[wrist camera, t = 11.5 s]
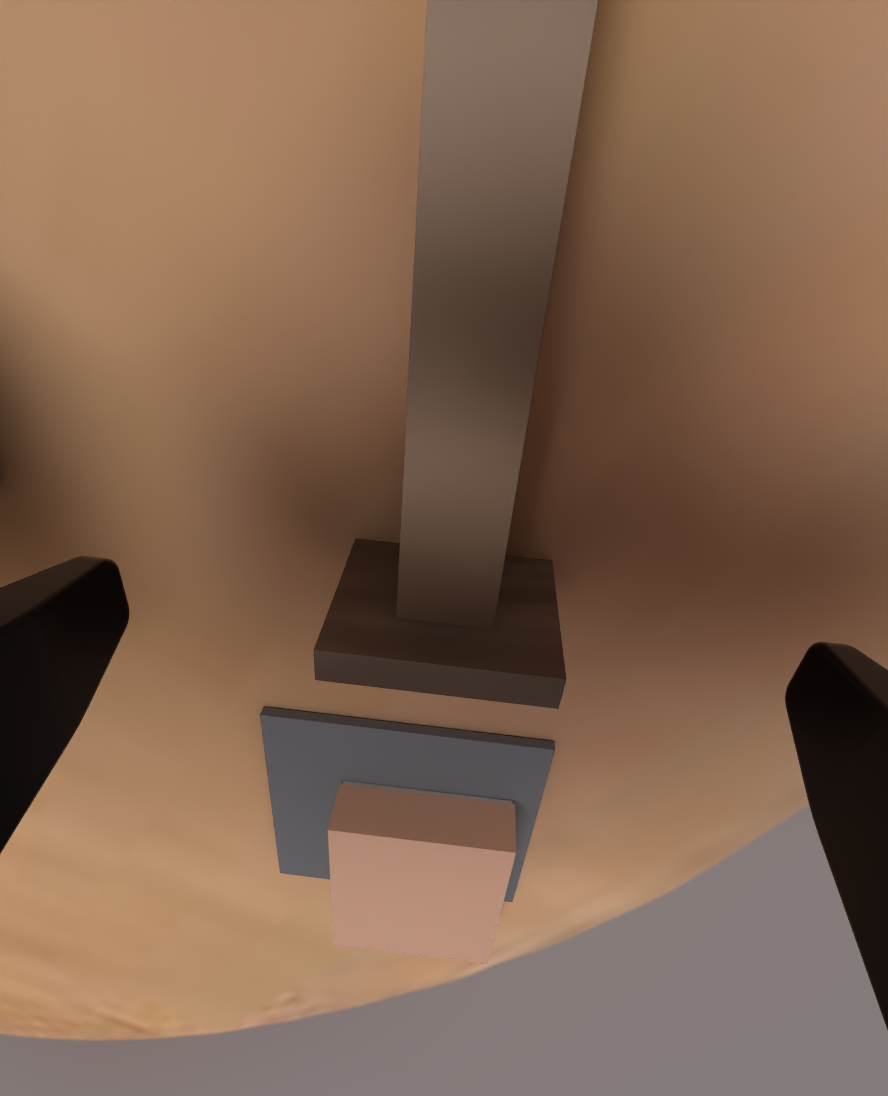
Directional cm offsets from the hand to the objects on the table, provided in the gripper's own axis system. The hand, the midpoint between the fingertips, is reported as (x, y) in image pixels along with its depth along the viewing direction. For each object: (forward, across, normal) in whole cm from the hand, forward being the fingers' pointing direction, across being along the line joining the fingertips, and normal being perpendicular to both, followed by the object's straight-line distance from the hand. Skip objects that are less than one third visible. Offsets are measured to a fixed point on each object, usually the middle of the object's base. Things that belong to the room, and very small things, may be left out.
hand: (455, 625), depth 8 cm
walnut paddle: (+9, 0, -2) cm, 10 cm away
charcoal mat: (+9, +1, +18) cm, 21 cm away
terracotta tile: (+8, 0, +16) cm, 18 cm away
